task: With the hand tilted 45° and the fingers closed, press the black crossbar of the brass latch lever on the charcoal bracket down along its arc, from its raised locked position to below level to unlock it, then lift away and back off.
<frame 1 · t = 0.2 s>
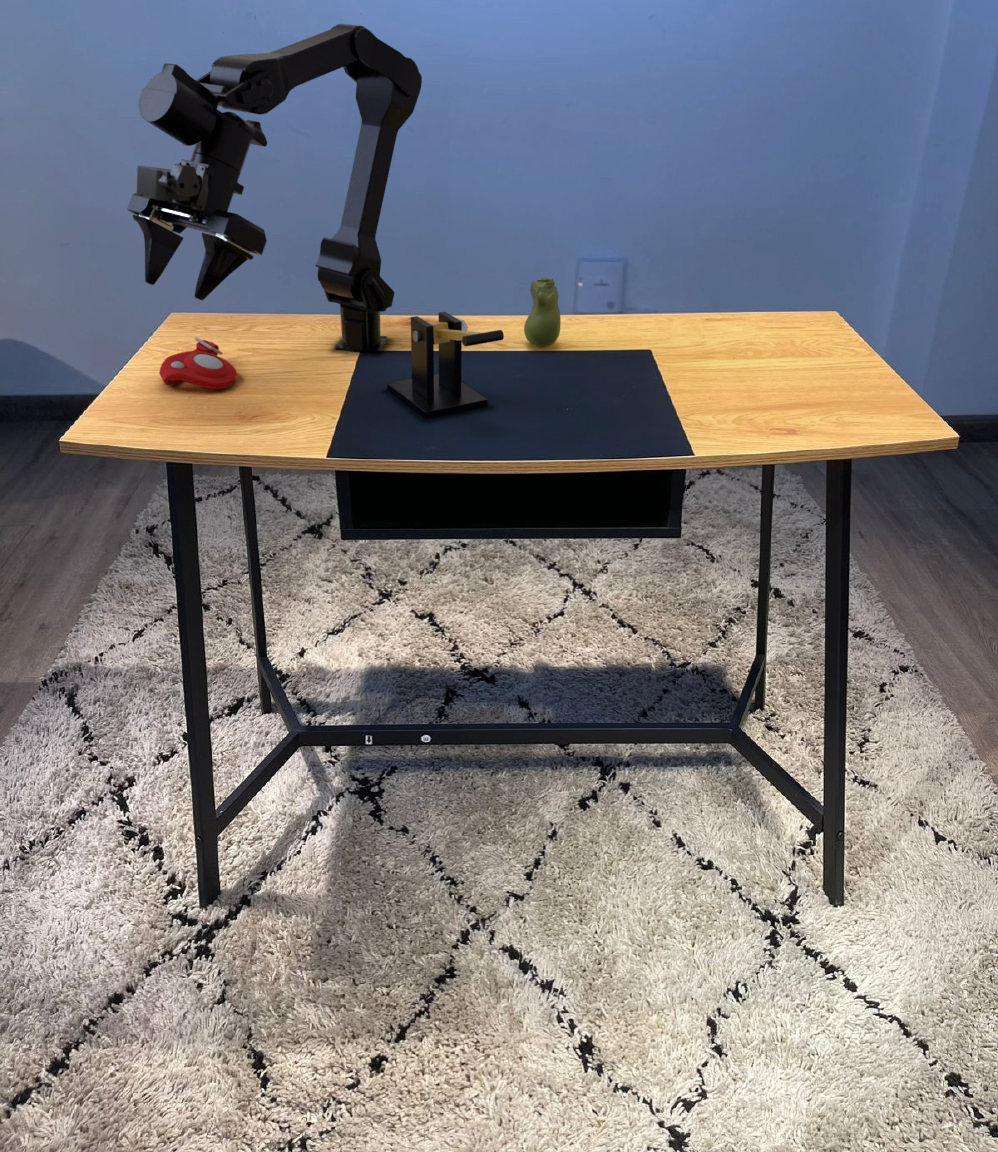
hand: (173, 291, 121), 15 cm above the table, tool tilted 35°, fingers open, 9 cm apart
tracker holder: (206, 378, 138), on the table
latch bracket: (436, 399, 134), on the table
latch lever: (457, 335, 124), point 10 cm above the table, hinge at 14.0°
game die: (455, 340, 154), on the table
green vase: (541, 347, 153), on the table
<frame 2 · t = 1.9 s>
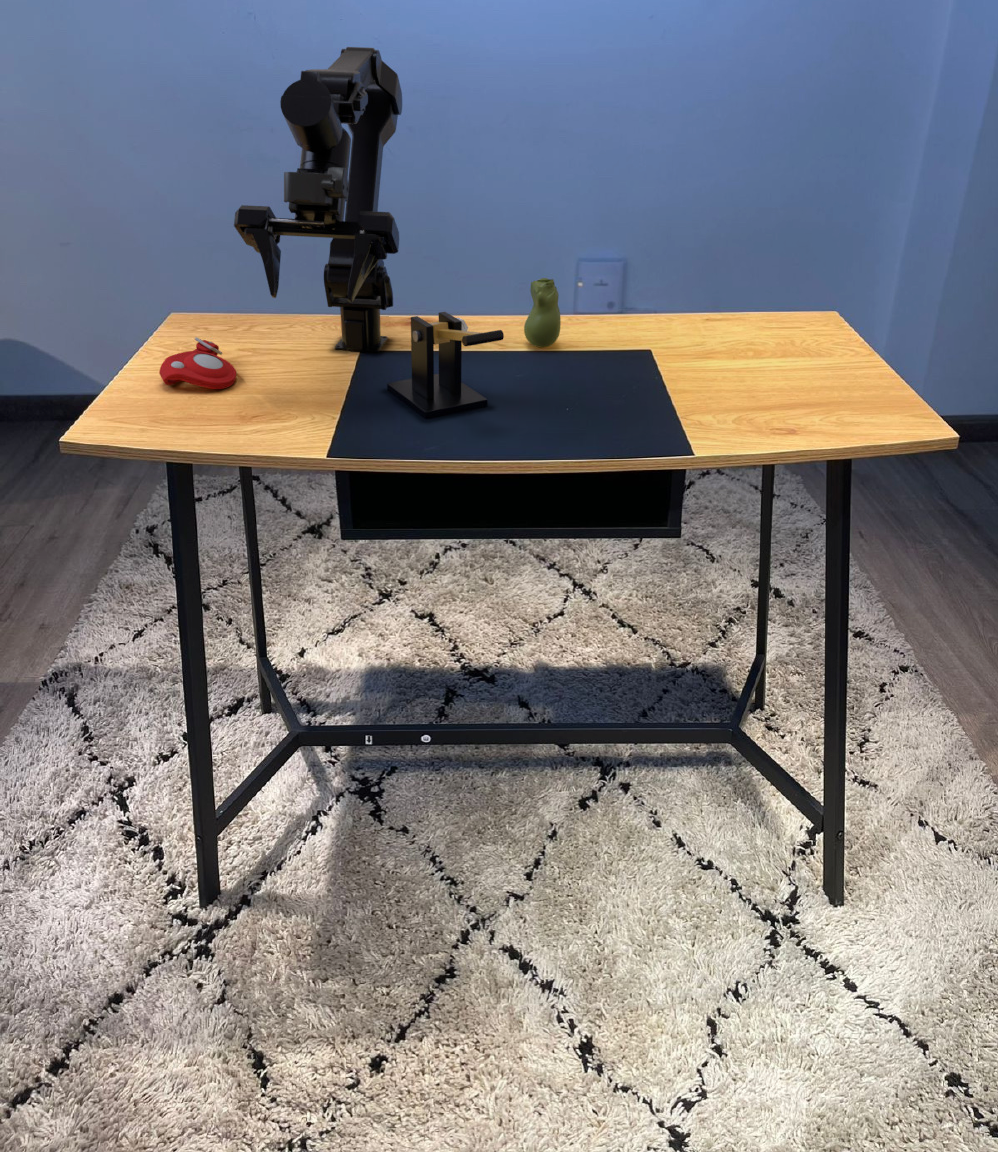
hand: (311, 298, 120), 15 cm above the table, tool tilted 40°, fingers open, 9 cm apart
nothing on the table moved.
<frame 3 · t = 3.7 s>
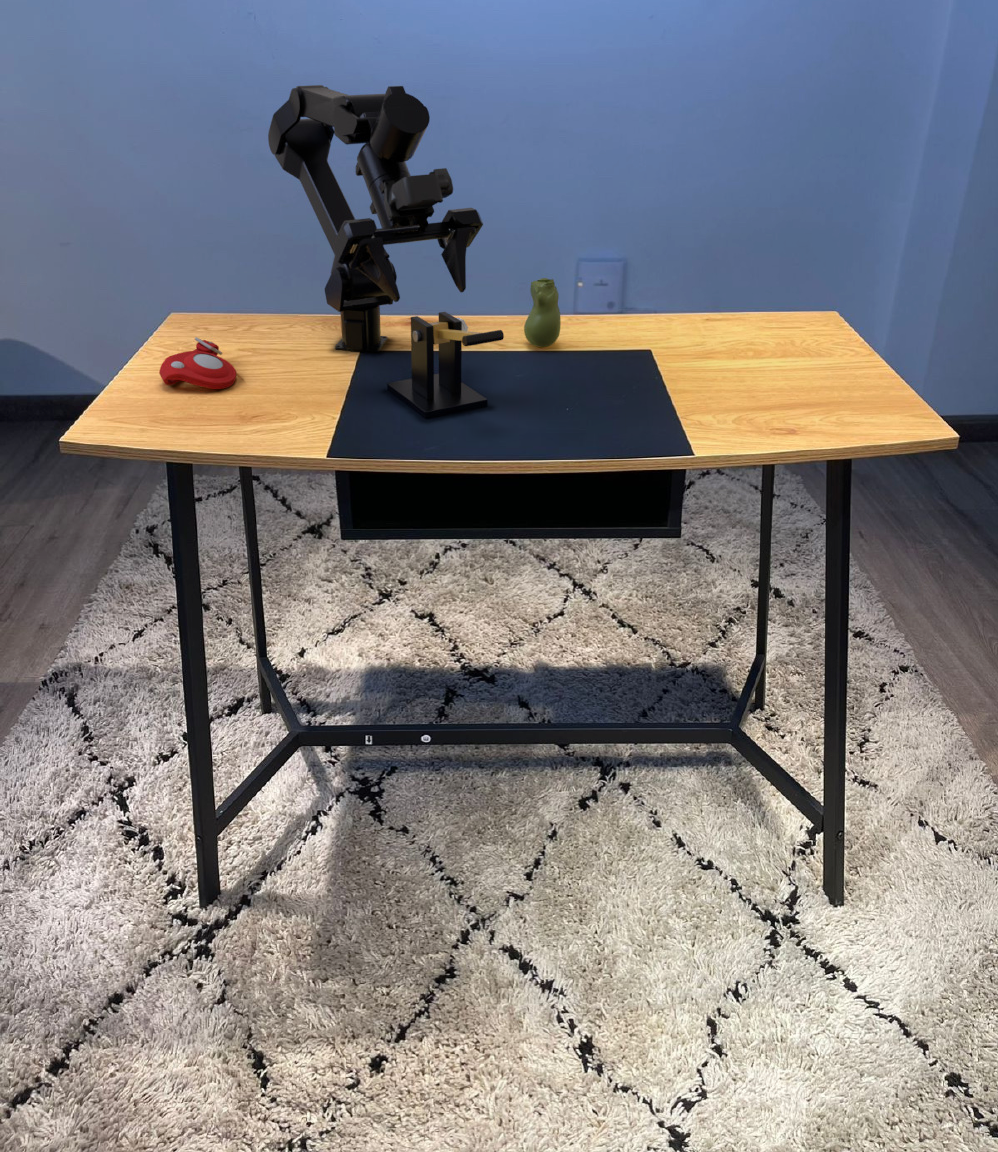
hand: (431, 295, 127), 14 cm above the table, tool tilted 45°, fingers open, 9 cm apart
nothing on the table moved.
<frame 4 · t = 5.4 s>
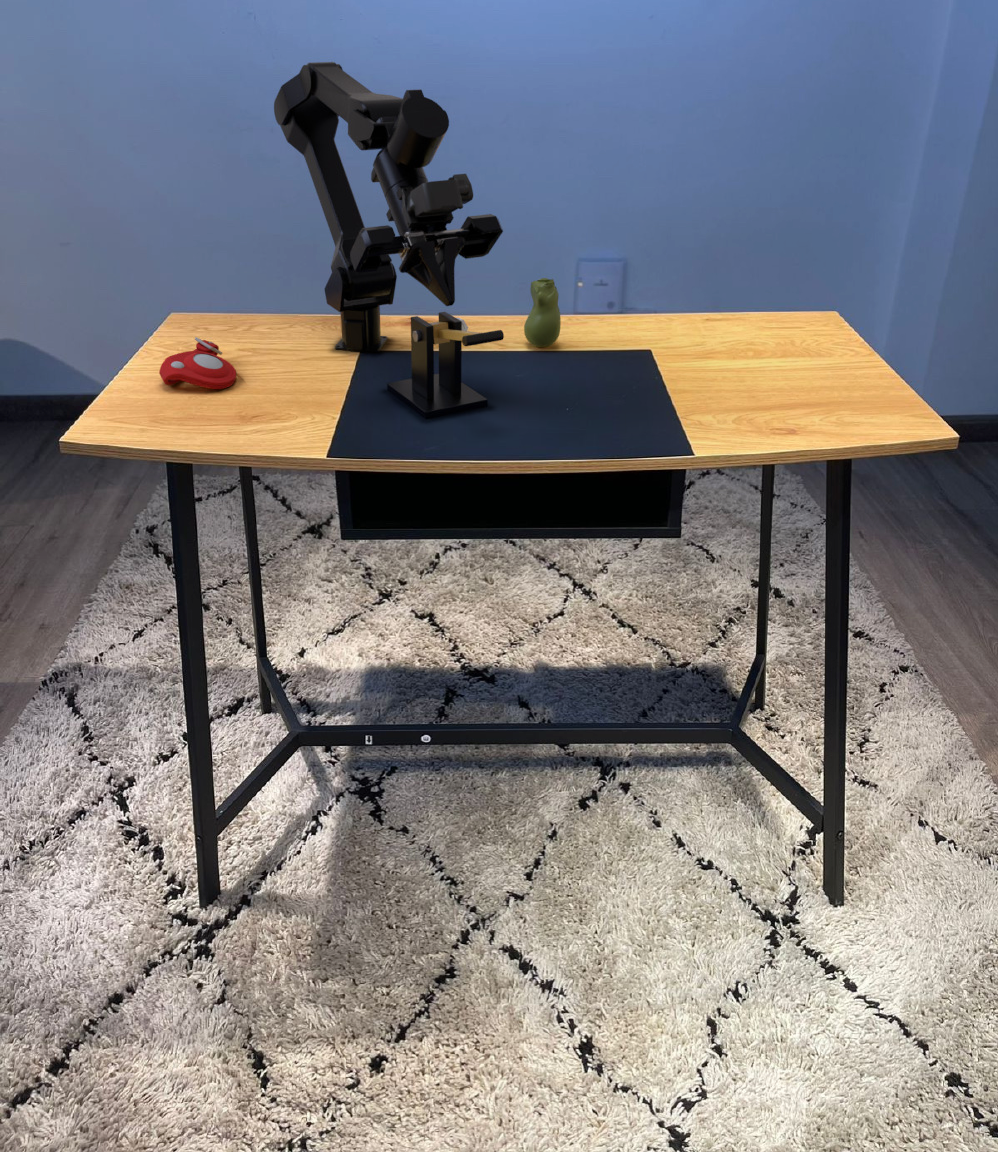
hand: (450, 304, 124), 14 cm above the table, tool tilted 45°, fingers closed
nothing on the table moved.
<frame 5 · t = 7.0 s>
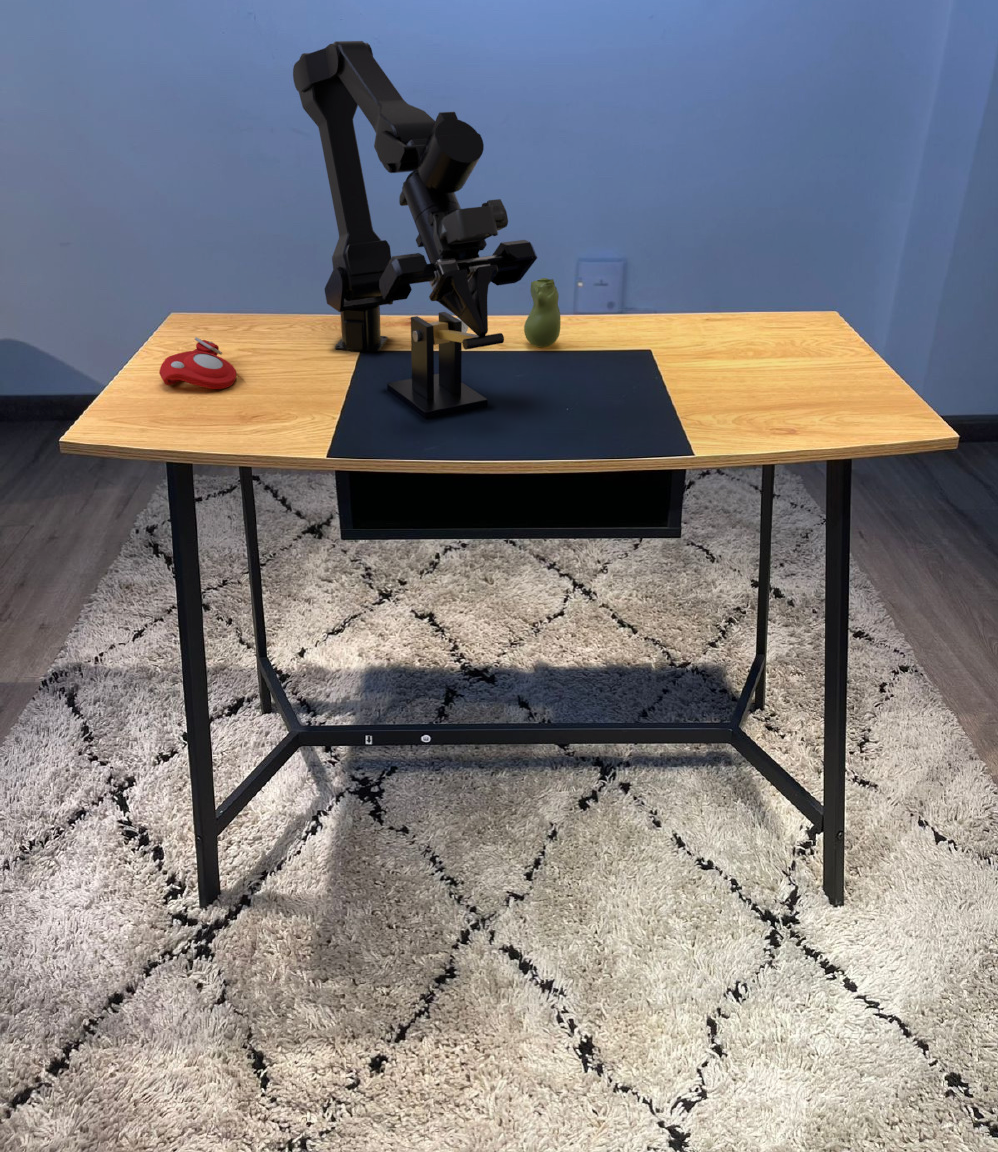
hand: (483, 334, 119), 12 cm above the table, tool tilted 45°, fingers closed, pressing on latch lever
latch lever: (457, 336, 125), point 10 cm above the table, hinge at 12.2°, touching gripper
everything else where it was.
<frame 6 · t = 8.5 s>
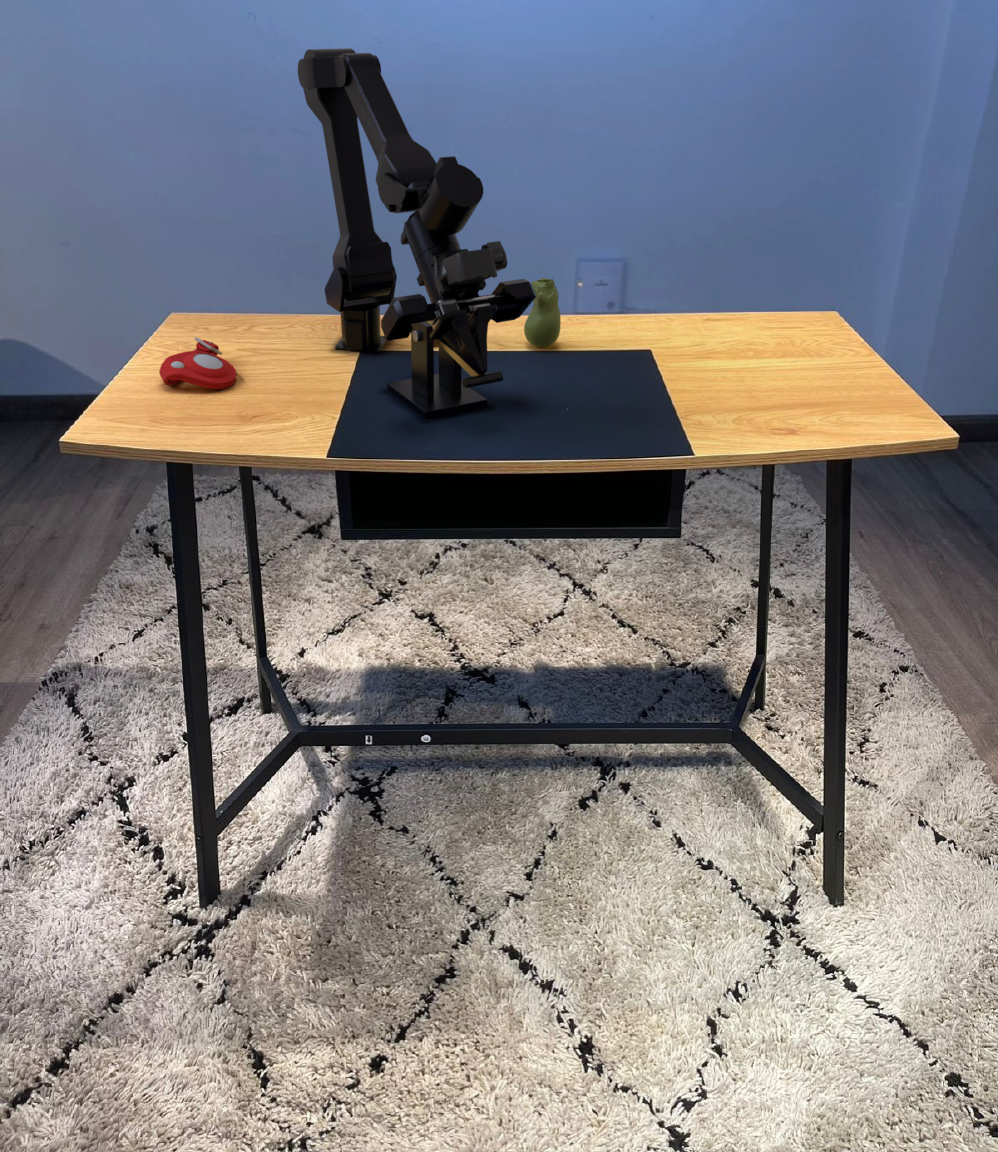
hand: (483, 372, 121), 8 cm above the table, tool tilted 45°, fingers closed, pressing on latch lever
latch lever: (457, 354, 126), point 8 cm above the table, hinge at -10.3°, touching gripper
everything else where it was.
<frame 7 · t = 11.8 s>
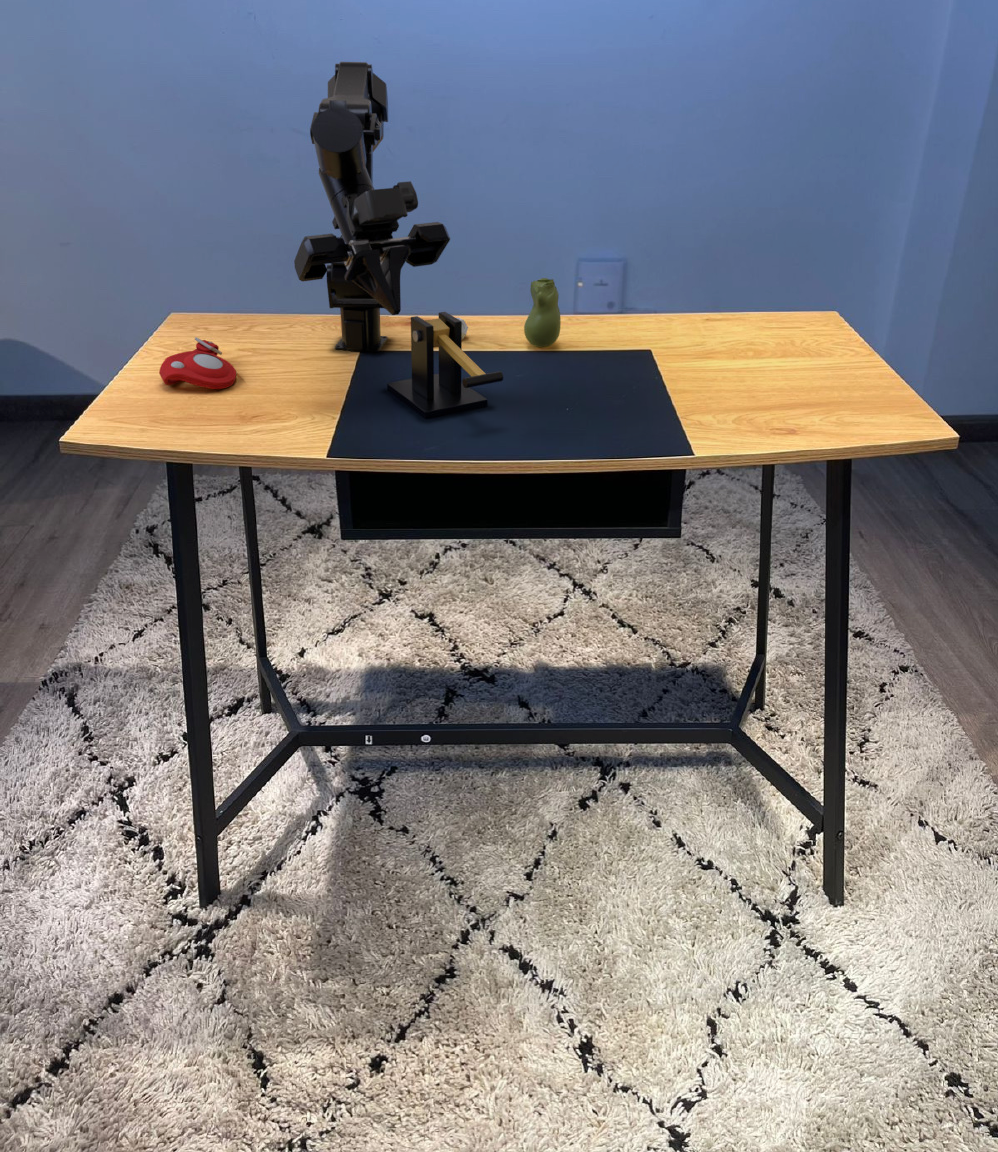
hand: (396, 313, 122), 13 cm above the table, tool tilted 45°, fingers closed
latch lever: (457, 354, 126), point 8 cm above the table, hinge at -10.3°
everything else where it was.
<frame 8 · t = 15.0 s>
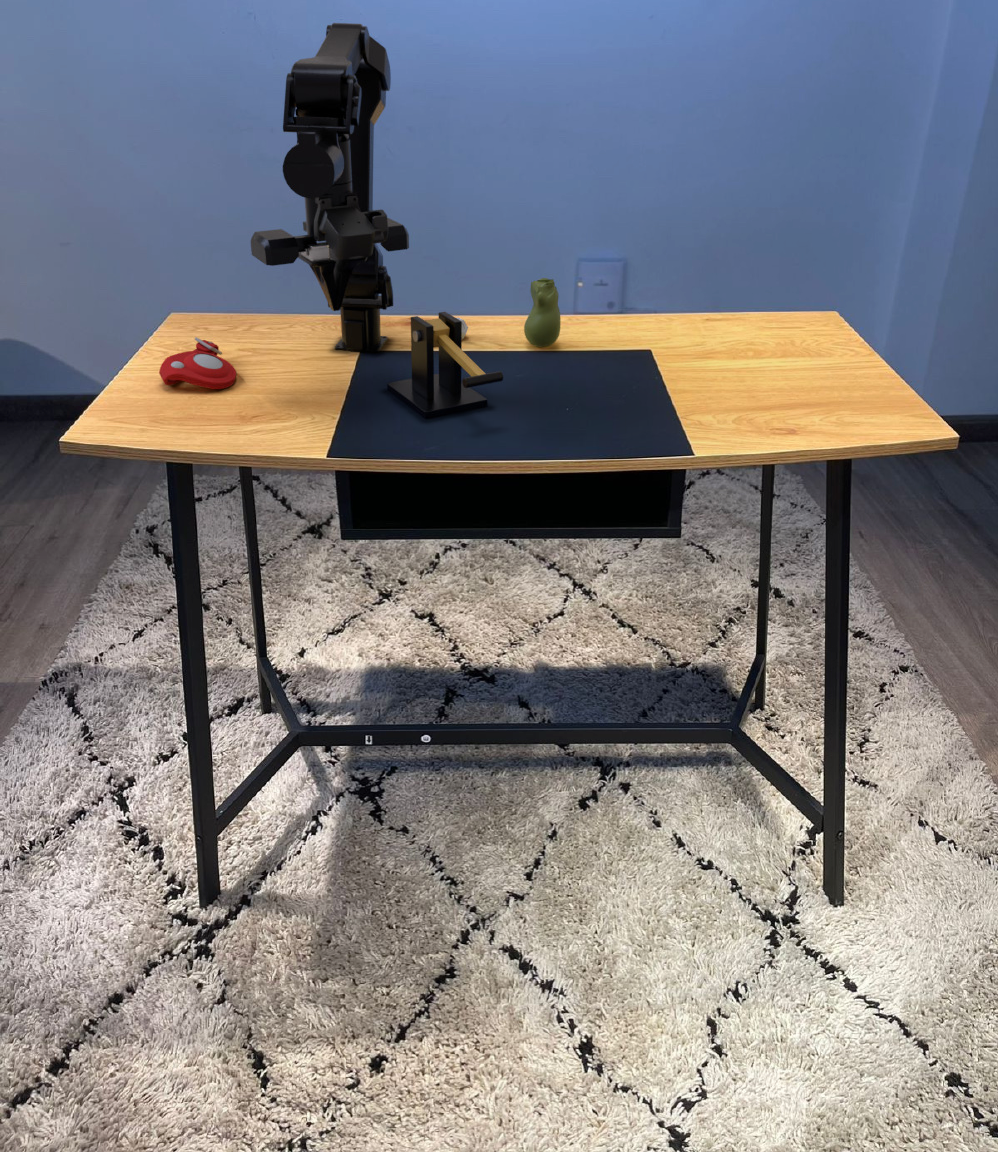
hand: (335, 310, 129), 11 cm above the table, tool pointing down, fingers closed
nothing on the table moved.
at the end: latch lever at -10° (first picture: +14°) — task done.
